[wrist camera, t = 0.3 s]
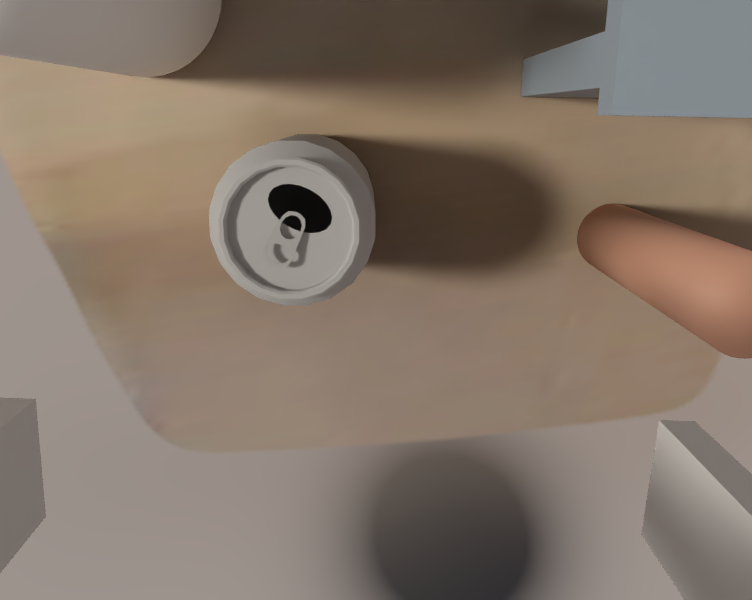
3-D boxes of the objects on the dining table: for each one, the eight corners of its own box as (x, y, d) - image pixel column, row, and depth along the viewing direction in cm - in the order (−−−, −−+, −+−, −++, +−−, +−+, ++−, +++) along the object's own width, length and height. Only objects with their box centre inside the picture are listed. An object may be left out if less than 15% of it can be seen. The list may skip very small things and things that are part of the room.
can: (396, 170, 41) (408, 193, 29) (339, 281, 43) (328, 344, 31) (280, 109, 40) (244, 108, 28) (226, 225, 42) (171, 269, 30)
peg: (580, 203, 41) (707, 256, 26) (647, 204, 42) (814, 257, 26) (574, 268, 42) (693, 357, 27) (639, 269, 43) (795, 359, 27)
